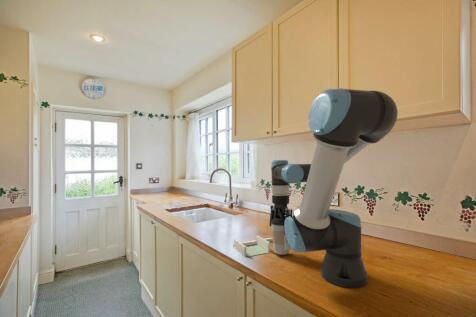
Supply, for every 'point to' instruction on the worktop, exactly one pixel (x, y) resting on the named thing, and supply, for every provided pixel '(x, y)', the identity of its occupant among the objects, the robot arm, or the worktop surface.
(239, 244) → the e-shaped divided frame
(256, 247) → the pad
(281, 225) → the coffee cup
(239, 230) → the worktop surface
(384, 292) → the worktop surface
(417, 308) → the worktop surface
